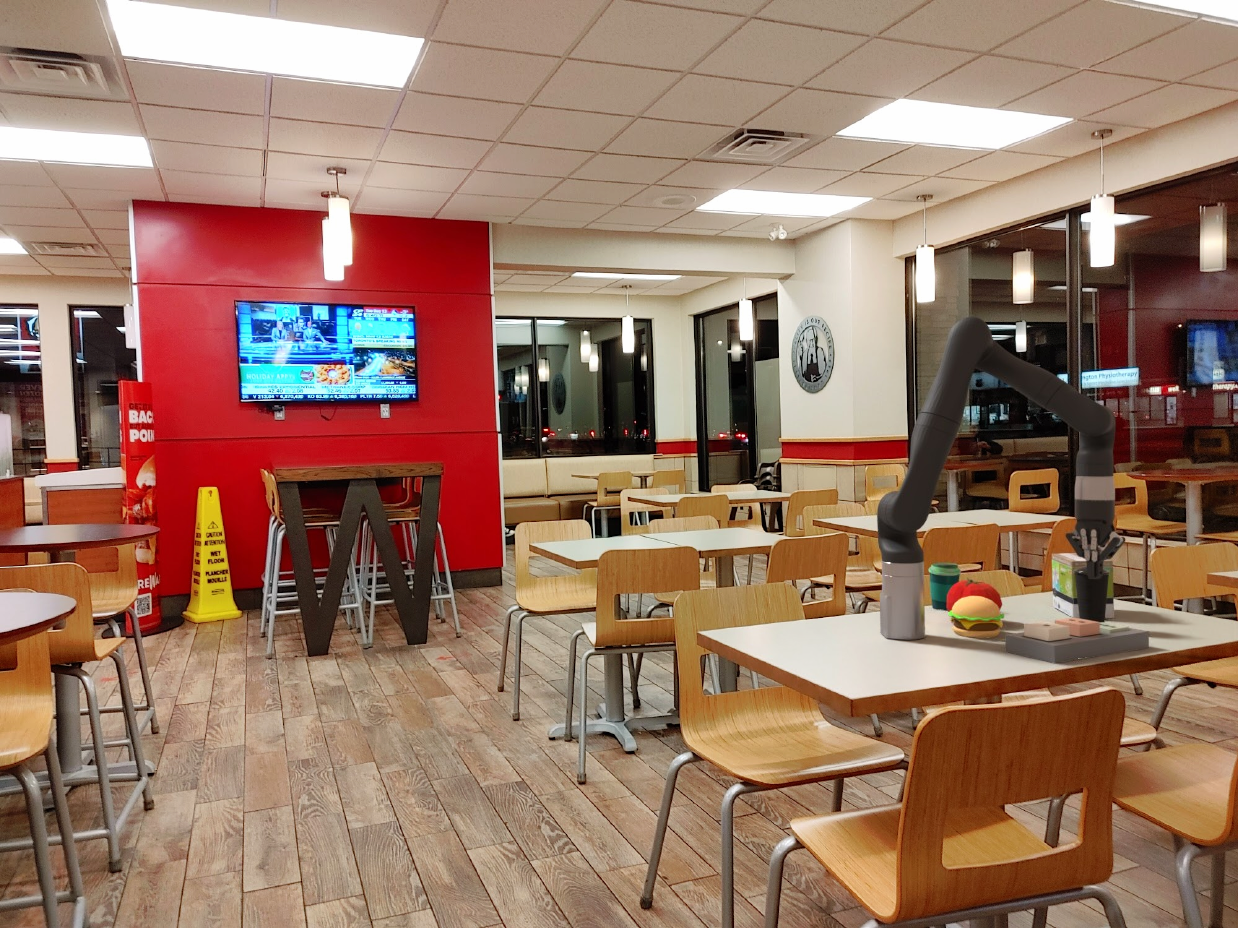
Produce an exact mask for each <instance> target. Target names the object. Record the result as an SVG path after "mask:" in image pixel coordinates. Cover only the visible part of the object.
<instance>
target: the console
mask: <svg viewBox="0 0 1238 928" xmlns="http://www.w3.org/2000/svg"><path fill="white" fill-rule="evenodd" d="M1100 623H1101V622H1100ZM1004 635H1005V652H1007V653H1011V654H1015V655H1019V656H1024V657H1027V658H1031V659H1035V660H1038V661H1039V660H1040V661H1044V662H1048V663H1052V664H1059V663H1064V662H1070V661H1069V660H1072V661H1076V660H1075V659H1078V658H1084V659H1086V658H1085V657H1090V658H1094V657H1093V656H1096V657H1100V656H1099V655H1102V656H1109V655H1114V654H1120V652H1121V653H1125V652H1126V653H1127V652H1131V651H1132V652H1133V651H1137V650H1145V649H1149V648H1150V633H1149V630H1142V629H1137V628H1133V627H1129V631H1123V632H1116V633H1106V632H1101V631H1100V634H1094V635H1088V636H1081V637H1079V636H1074V635H1070V638H1067V639H1061V640H1054V641H1045V640H1041V639H1036V638H1032V637H1027V636H1024V631H1022V632H1013V633H1008V634H1004ZM1078 660H1079V659H1078Z"/></svg>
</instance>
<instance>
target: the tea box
mask: <svg viewBox="0 0 1238 928" xmlns="http://www.w3.org/2000/svg"><path fill="white" fill-rule="evenodd" d="M1113 561H1114V560H1111V559H1107V560H1104V562H1103V568H1104V569H1106V570H1108V571H1110V574H1109V578H1108V590H1107V601H1106V612H1105V619H1114V618H1115V603H1114V602H1115V600H1114V599H1115V597H1114V596H1115V595H1114V594H1115V593H1114V566H1113V565H1114V563H1113ZM1082 566H1087V561H1086V560H1085V558H1083V557H1079V556H1078V555H1077V554H1076V552H1071V553H1069V552H1068V553H1051V577H1052V607H1053V608H1054V609H1057V610H1059V611H1060V612H1062V613H1063V614H1066V615H1067V616H1069V617H1070V616H1071V617H1070V618H1079V609H1078V600H1077V591H1076V582H1075V574H1074V573H1073V570H1074V569H1077V568H1079V567H1082ZM1079 619H1080V618H1079Z"/></svg>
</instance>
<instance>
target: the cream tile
mask: <svg viewBox="0 0 1238 928" xmlns="http://www.w3.org/2000/svg"><path fill="white" fill-rule="evenodd" d="M1023 632H1024V636H1027V637H1032V638H1036V639H1041V640H1045V641H1054V640H1061V639H1067V638H1070V628H1069V626H1064V625H1059V624H1055V622H1048V621H1039V622H1032V623H1025V624H1023Z"/></svg>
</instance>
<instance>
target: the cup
mask: <svg viewBox="0 0 1238 928" xmlns="http://www.w3.org/2000/svg"><path fill="white" fill-rule="evenodd" d="M928 572H929V586H930V587H929V589H930V598H931V606H932V608H933V609H934V610H937V611H938V610H939V611H948V609H947V594H948V592H949V590H950V589H951V587H952V586H953V585H954V584H956V583H958V582H960V575H961V574H962V570H961V569H960V568H959V565H958V564H957V563H954V562H953V563H952V562H935V563H932V564H931V566H930V567H929V568H928Z"/></svg>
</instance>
